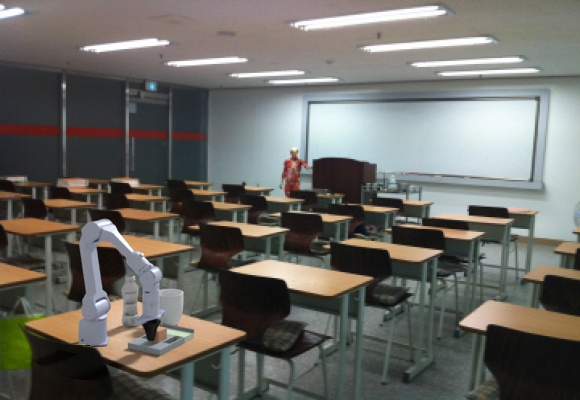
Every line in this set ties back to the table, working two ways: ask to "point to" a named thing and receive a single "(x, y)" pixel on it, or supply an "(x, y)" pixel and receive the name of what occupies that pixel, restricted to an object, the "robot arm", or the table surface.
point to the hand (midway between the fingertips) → (150, 340)
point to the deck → (174, 339)
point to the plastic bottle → (130, 301)
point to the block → (160, 334)
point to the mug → (171, 305)
